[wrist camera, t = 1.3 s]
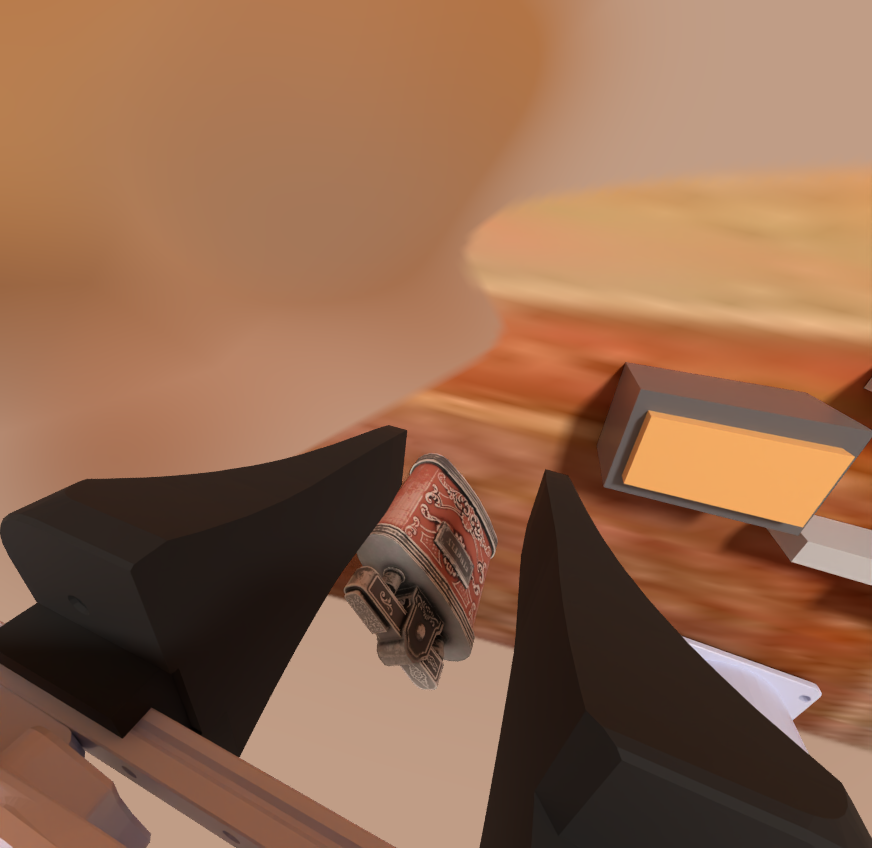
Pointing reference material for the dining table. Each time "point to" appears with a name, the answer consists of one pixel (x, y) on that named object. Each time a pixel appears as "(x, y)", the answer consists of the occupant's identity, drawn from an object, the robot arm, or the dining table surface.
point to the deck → (831, 546)
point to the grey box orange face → (726, 446)
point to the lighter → (425, 572)
